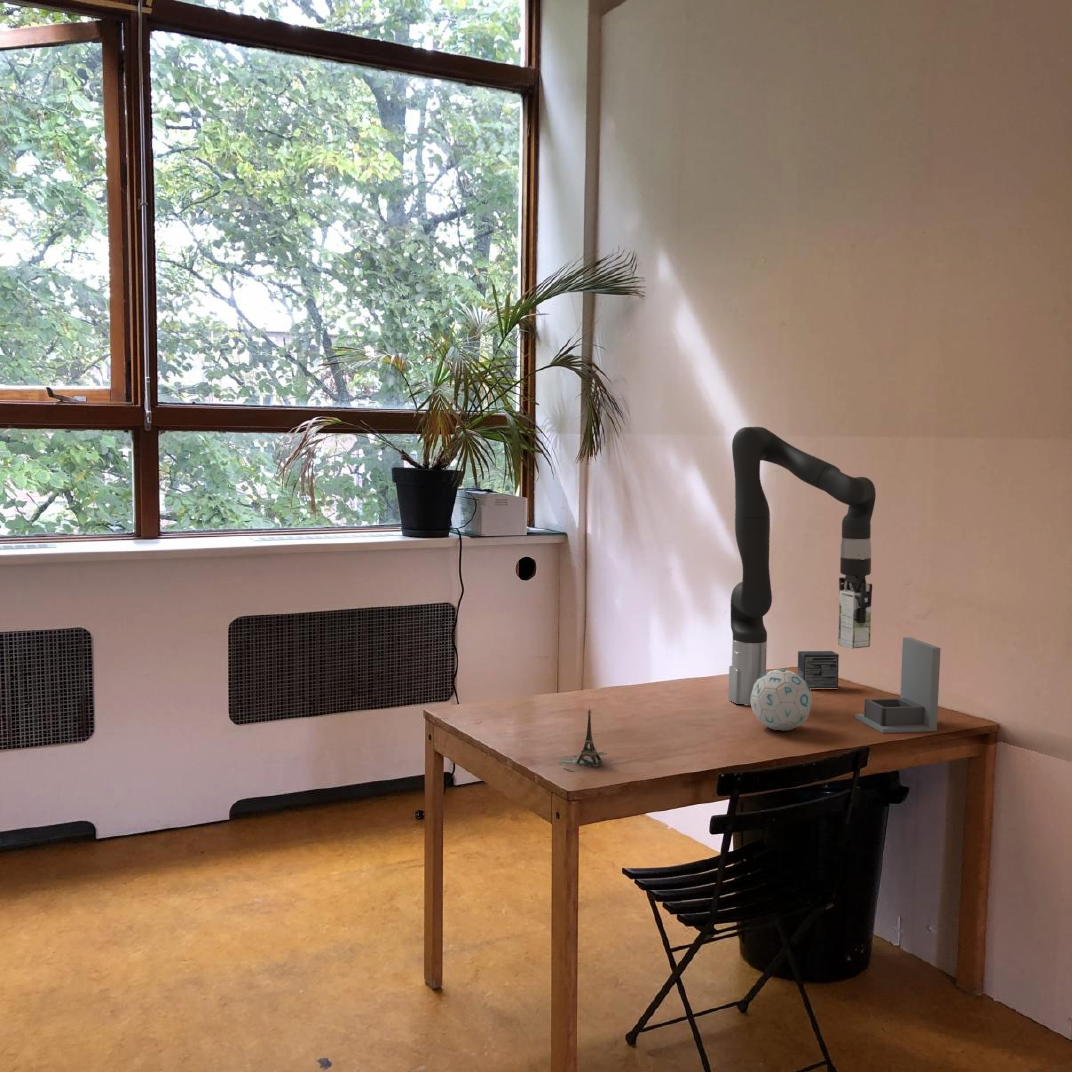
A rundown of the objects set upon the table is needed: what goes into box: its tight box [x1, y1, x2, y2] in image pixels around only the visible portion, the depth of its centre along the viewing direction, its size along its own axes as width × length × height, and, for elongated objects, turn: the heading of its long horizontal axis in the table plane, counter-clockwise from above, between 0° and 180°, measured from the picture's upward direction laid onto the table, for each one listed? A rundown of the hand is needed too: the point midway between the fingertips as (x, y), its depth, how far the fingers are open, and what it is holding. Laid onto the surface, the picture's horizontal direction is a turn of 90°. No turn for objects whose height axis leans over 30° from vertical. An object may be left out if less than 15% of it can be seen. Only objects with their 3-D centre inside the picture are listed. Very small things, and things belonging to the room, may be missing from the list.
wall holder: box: [854, 636, 941, 734], centre depth 278 cm, size 14×15×21 cm
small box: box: [797, 650, 840, 689], centre depth 319 cm, size 11×6×10 cm, turn 94°
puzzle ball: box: [750, 669, 813, 732], centre depth 272 cm, size 15×15×15 cm
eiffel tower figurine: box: [557, 705, 608, 773], centre depth 242 cm, size 15×10×13 cm
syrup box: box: [837, 590, 872, 649], centre depth 279 cm, size 6×6×14 cm
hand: (854, 620), depth 279 cm, fingers closed on syrup box, 6 cm apart
